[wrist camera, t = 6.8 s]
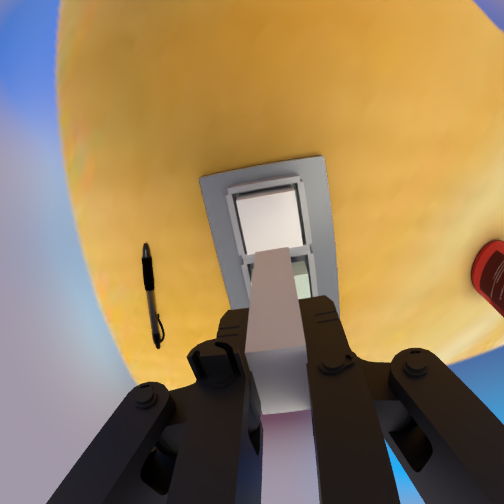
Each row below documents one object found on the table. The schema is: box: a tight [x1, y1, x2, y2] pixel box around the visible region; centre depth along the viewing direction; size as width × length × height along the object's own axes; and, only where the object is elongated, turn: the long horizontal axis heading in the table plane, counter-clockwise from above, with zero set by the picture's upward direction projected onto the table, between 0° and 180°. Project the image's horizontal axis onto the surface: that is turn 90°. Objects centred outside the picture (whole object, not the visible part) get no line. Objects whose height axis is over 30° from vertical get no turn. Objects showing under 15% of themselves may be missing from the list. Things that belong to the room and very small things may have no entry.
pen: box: [142, 244, 165, 349], centre depth 31 cm, size 14×2×1 cm, turn 176°
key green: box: [251, 261, 311, 299], centre depth 24 cm, size 4×4×2 cm
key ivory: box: [236, 186, 303, 255], centre depth 23 cm, size 4×4×2 cm
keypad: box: [199, 155, 340, 319], centre depth 27 cm, size 21×11×4 cm, turn 11°
